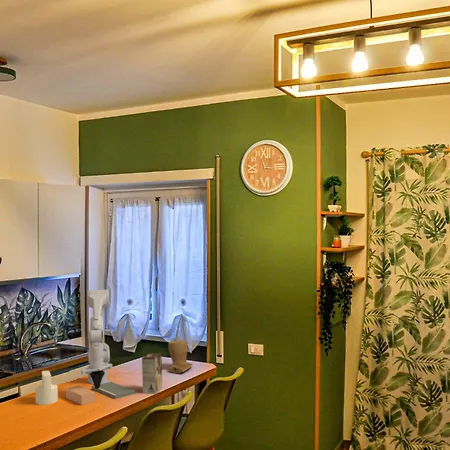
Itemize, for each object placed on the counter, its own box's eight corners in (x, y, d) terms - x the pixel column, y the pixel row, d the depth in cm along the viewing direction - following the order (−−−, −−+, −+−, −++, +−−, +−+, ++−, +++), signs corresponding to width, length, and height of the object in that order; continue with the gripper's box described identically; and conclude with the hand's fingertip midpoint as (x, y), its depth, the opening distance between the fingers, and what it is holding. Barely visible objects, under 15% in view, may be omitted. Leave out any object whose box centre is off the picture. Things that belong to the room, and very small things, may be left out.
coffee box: (149, 387, 251) (148, 352, 251) (162, 388, 250) (162, 353, 250) (142, 393, 242) (141, 357, 242) (156, 394, 241) (155, 358, 241)
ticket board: (91, 389, 250) (91, 385, 250) (111, 384, 257) (110, 381, 257) (115, 399, 235) (115, 395, 235) (135, 394, 242) (135, 390, 242)
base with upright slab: (34, 399, 236) (34, 372, 236) (56, 396, 240) (56, 369, 240) (36, 406, 228) (36, 377, 228) (59, 403, 232) (58, 374, 232)
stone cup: (174, 365, 289) (174, 337, 289) (195, 367, 286) (194, 338, 285) (161, 373, 275) (161, 343, 275) (183, 375, 271) (183, 344, 271)
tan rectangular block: (65, 397, 238) (65, 388, 238) (78, 394, 242) (78, 385, 242) (81, 405, 228) (81, 395, 228) (94, 401, 232) (94, 392, 232)
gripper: (86, 361, 232) (86, 393, 233) (115, 355, 242) (116, 386, 242) (78, 358, 238) (78, 390, 238) (107, 352, 247) (107, 382, 248)
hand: (97, 387), depth 240 cm, fingers closed
